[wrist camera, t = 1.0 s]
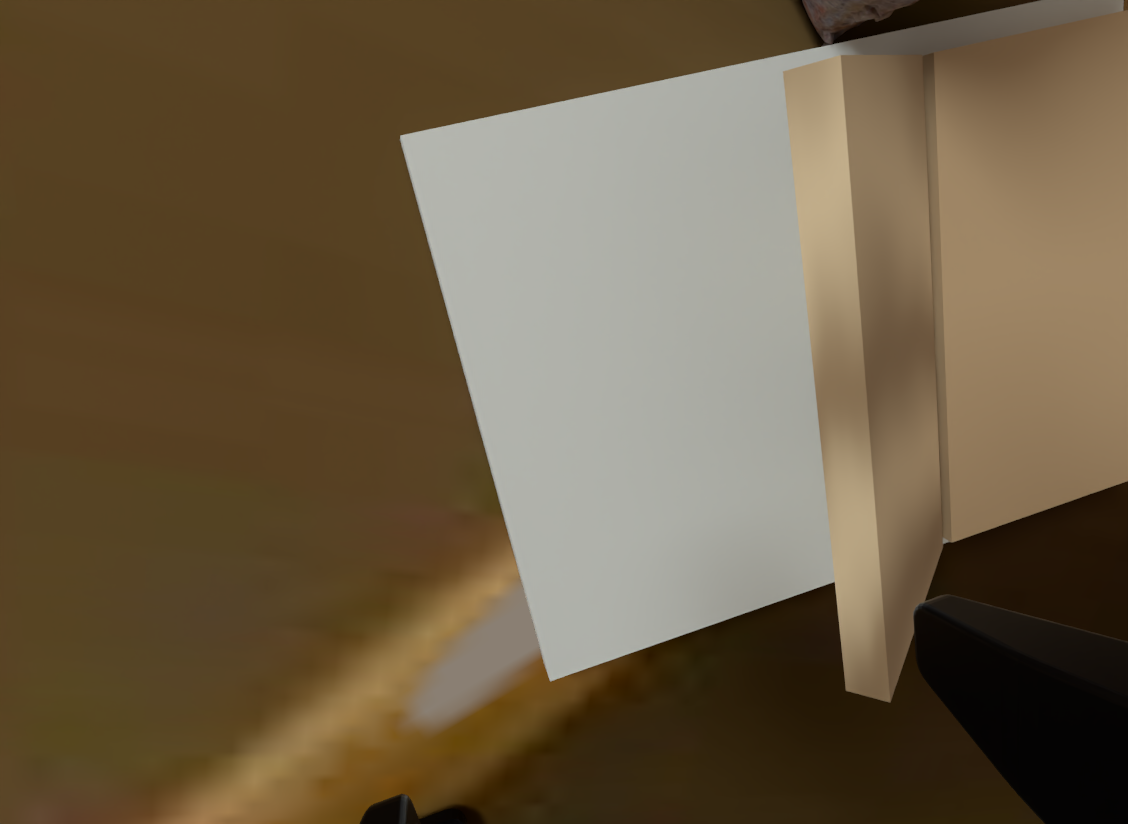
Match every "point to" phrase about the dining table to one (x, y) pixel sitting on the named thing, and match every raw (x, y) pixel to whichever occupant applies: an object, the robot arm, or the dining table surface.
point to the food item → (847, 14)
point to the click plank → (870, 343)
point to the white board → (772, 316)
